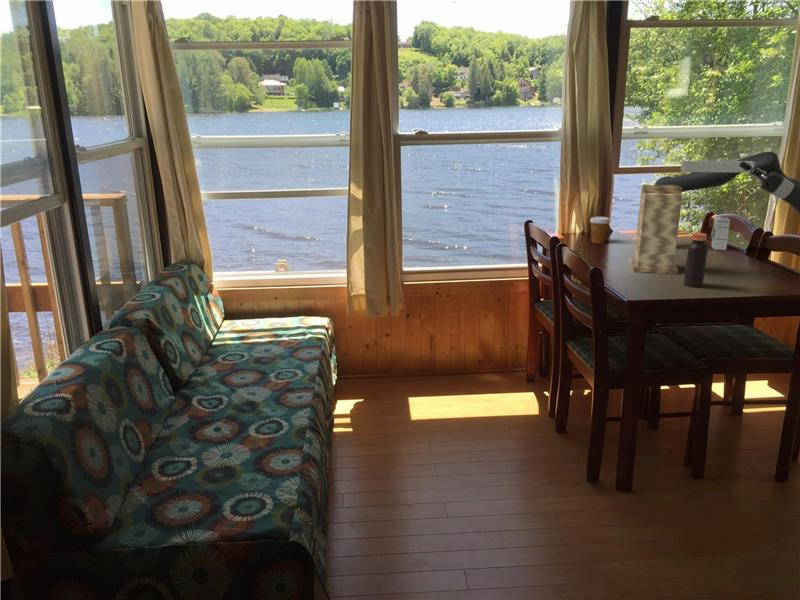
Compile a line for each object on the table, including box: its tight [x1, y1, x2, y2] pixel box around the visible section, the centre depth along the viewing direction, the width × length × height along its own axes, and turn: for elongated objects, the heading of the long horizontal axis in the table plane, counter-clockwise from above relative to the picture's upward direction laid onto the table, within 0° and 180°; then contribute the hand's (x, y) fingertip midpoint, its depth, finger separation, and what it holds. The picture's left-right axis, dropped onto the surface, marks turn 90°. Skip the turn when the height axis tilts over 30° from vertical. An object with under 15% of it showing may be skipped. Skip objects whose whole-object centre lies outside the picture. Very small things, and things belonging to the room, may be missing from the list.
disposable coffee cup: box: [589, 216, 611, 244], centre depth 326 cm, size 10×10×12 cm
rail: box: [680, 160, 755, 174], centre depth 262 cm, size 26×4×4 cm, turn 78°
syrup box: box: [710, 216, 731, 251], centre depth 310 cm, size 6×6×14 cm
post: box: [628, 184, 683, 275], centre depth 273 cm, size 17×15×34 cm
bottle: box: [683, 232, 708, 288], centre depth 251 cm, size 7×7×20 cm
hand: (739, 163), depth 260 cm, fingers closed on rail, 4 cm apart
